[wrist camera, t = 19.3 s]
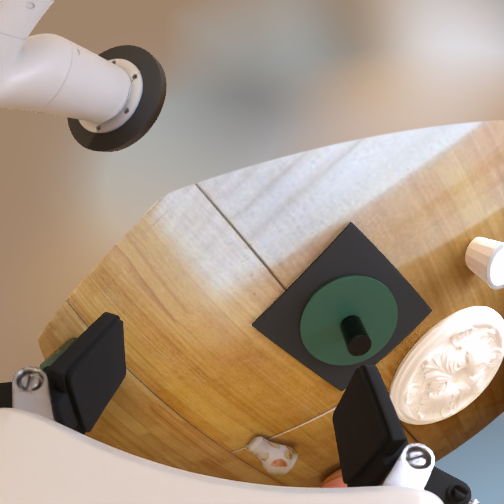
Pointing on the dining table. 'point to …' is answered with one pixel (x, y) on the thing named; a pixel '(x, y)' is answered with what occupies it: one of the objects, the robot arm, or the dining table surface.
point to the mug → (273, 455)
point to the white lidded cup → (486, 261)
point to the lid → (348, 320)
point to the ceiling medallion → (448, 366)
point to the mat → (322, 272)
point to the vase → (334, 480)
